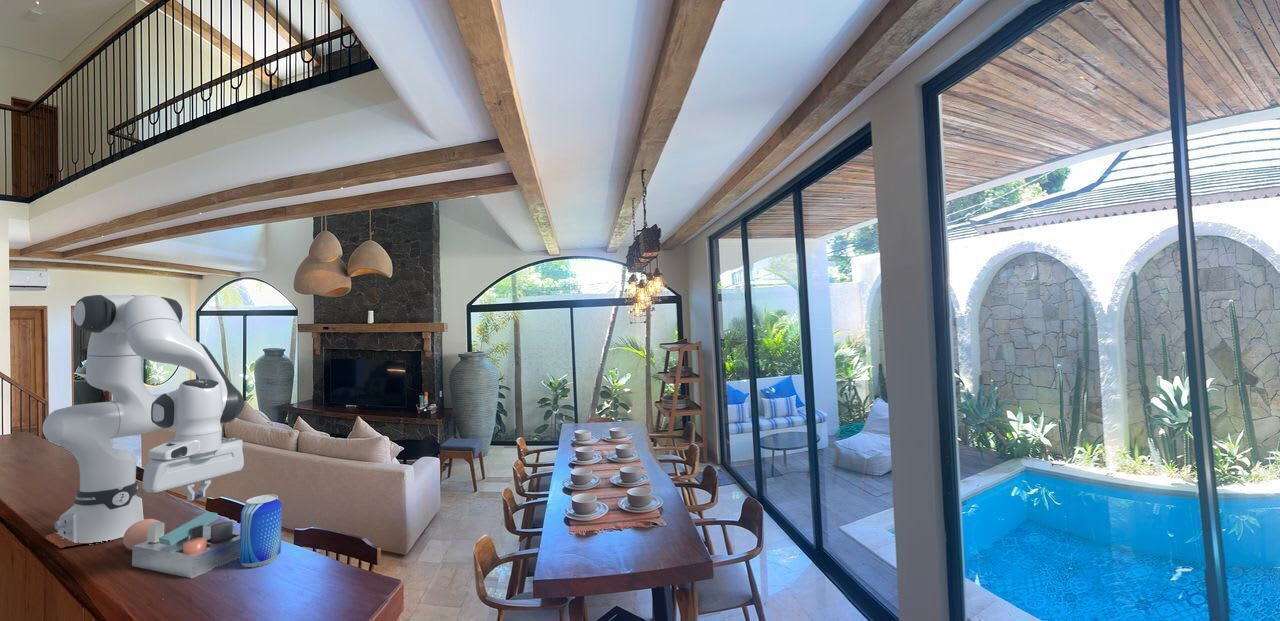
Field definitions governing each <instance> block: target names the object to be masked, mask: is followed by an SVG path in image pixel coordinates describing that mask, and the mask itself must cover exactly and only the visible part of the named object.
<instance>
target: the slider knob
mask: <svg viewBox="0 0 1280 621" xmlns="http://www.w3.org/2000/svg"><path fill="white" fill-rule="evenodd" d="M165 525H166V523H165V522H162V521H160V522H154V523H151V524H148V536H147V542H152V543H156V542H159V538H160V537H162V536H164V535H165V528H166V527H165Z"/></svg>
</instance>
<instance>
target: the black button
mask: <svg viewBox="0 0 1280 621" xmlns="http://www.w3.org/2000/svg"><path fill="white" fill-rule="evenodd" d="M210 527H211V539H210V543H214V544H219V543H221V542H224V541H227V540H229V539H232V537H233V528H234V522H233V521H222V522H218V523H216V524H213V525H211V526H210Z"/></svg>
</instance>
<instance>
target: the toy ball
mask: <svg viewBox="0 0 1280 621" xmlns="http://www.w3.org/2000/svg"><path fill="white" fill-rule="evenodd" d="M144 519H145V520H141V521H138V522H136V523H135V524H133V525H132V526H130V527H129V528H128V529H127V531H126V532H125V534H124V537H122V541H123V543H122V544H124V546H125V548H126V549H128V550H131V551H132V547H133V546H134V545H137V544H140V543H143V542H146V541H147V536H148V524H151V523H154V522H161V520H157V519H155V518H144Z"/></svg>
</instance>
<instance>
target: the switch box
mask: <svg viewBox="0 0 1280 621" xmlns="http://www.w3.org/2000/svg"><path fill="white" fill-rule="evenodd" d="M184 524H185V523H181V524H179V525H177V526H176V528H178V527H180V526H182V525H184ZM202 537H204V538H207V548H206V549H203V550H200V551H198V552H195V553H193V554H190V555H189V554H184V553H183V543H184V542H186V541H188V540H191V539H195V538H202ZM210 539H211V526H210V525H206V526H205V527H203V525H199V526H196V527H193V528H191V530H190V535H189V536H187V537H185V538H184V539H182V540H180V541H178V542H177V543H175V544H173V545H171V546H170V545H165V544H160V541H159V542H156V543H152V542H147V541H146V542H143V543H140V544H137V545H134V546H133V547H132V550H131V551H132V552H131V566H132V567H136V568H141V569H145V570H150V571H154V572H155V571H156V572H160V573H164V574H169V575H173V576H174V575H175V576H178V577H179V576H180V577H184V578H187V579H193V578H196V577H198V576H200V575H203V574H206V573H208V572H210V571H212V569H213V568H215V567H217V568H219V567H218V566H220V567H222V566H224V565H226V563H227V564H229V563H231V562H234V561H236V560H238V559H237V558H239V557H240V531H239V530H233V537H232V539H229V540H227V541H224V542H221V543H219V544H214V543H210ZM235 559H236V560H235ZM233 560H234V561H233ZM230 561H231V562H230ZM228 562H229V563H228ZM223 564H224V565H223ZM221 565H222V566H221ZM215 569H216V568H215ZM213 570H214V569H213Z"/></svg>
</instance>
